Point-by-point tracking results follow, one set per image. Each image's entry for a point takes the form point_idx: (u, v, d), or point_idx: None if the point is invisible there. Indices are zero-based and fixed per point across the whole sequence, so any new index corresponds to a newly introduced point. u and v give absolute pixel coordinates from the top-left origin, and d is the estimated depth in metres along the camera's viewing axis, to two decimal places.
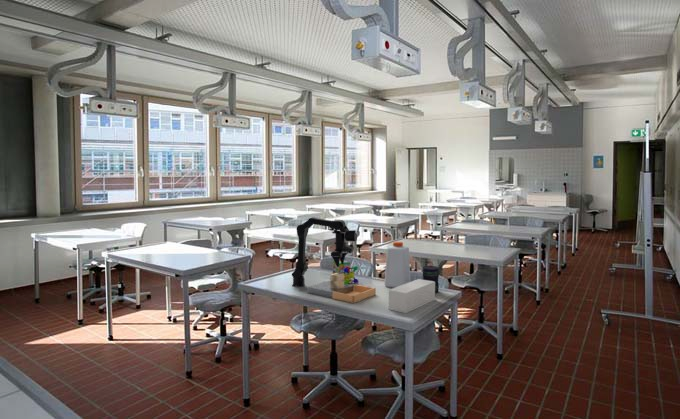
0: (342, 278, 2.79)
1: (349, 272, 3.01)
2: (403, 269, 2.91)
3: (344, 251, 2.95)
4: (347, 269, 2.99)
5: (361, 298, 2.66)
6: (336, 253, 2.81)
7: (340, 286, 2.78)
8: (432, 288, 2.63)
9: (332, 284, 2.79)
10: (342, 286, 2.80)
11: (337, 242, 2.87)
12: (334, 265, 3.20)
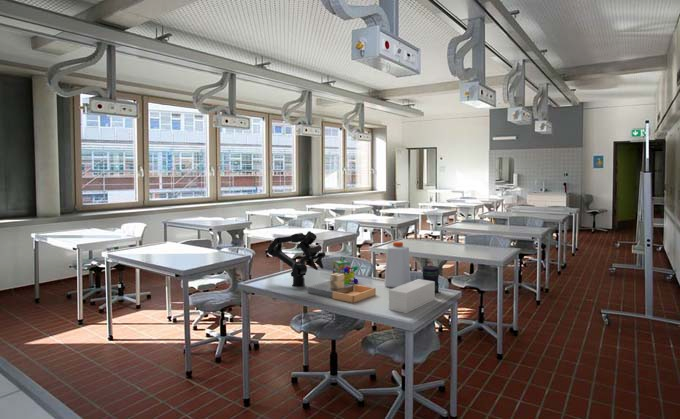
0: (342, 278, 2.79)
1: (349, 272, 3.01)
2: (403, 269, 2.91)
3: (317, 257, 2.94)
4: (347, 269, 2.99)
5: (361, 298, 2.66)
6: (302, 258, 2.84)
7: (340, 286, 2.78)
8: (432, 288, 2.63)
9: (332, 284, 2.79)
10: (342, 286, 2.80)
11: (303, 251, 2.92)
12: (334, 265, 3.20)
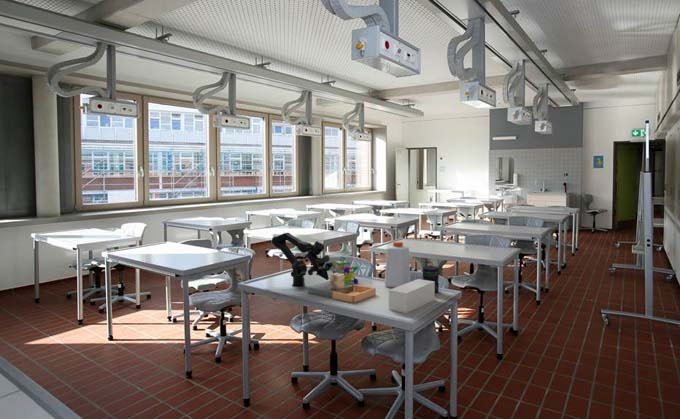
0: (342, 278, 2.79)
1: (349, 272, 3.01)
2: (403, 269, 2.91)
3: (323, 268, 2.88)
4: (347, 269, 2.99)
5: (361, 298, 2.66)
6: (310, 269, 2.80)
7: (340, 286, 2.78)
8: (432, 288, 2.63)
9: (332, 284, 2.79)
10: (342, 286, 2.80)
11: (311, 262, 2.89)
12: (334, 265, 3.20)
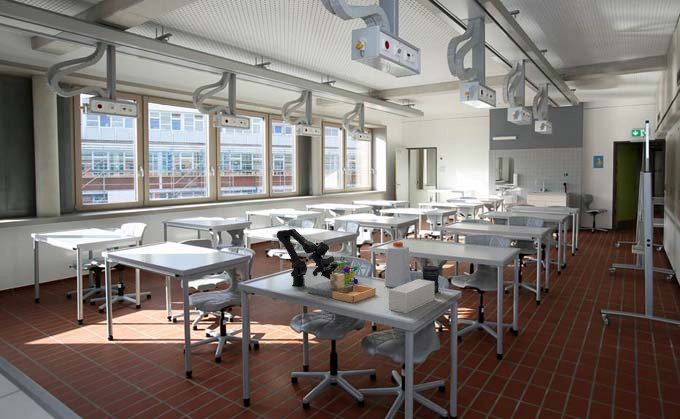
0: (342, 278, 2.79)
1: (349, 272, 3.01)
2: (403, 269, 2.91)
3: (328, 268, 2.86)
4: (347, 269, 2.99)
5: (361, 298, 2.66)
6: (315, 270, 2.78)
7: (340, 286, 2.78)
8: (432, 288, 2.63)
9: (332, 284, 2.79)
10: (342, 286, 2.80)
11: (316, 262, 2.86)
12: None
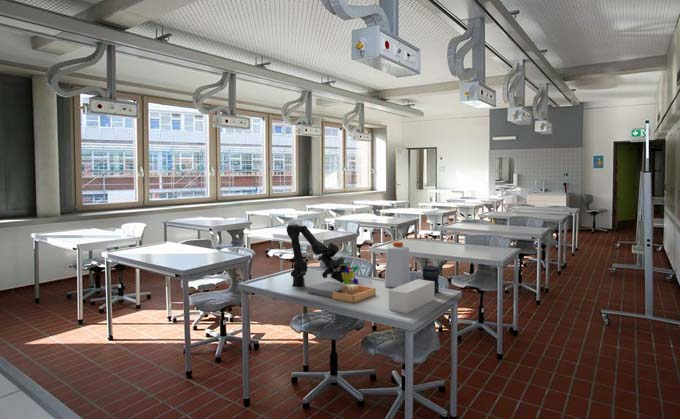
0: None
1: (349, 272, 3.01)
2: (403, 269, 2.91)
3: (337, 270, 2.81)
4: (347, 269, 2.99)
5: (361, 298, 2.66)
6: (325, 272, 2.73)
7: None
8: (432, 288, 2.63)
9: (344, 288, 2.73)
10: None
11: (325, 264, 2.82)
12: None
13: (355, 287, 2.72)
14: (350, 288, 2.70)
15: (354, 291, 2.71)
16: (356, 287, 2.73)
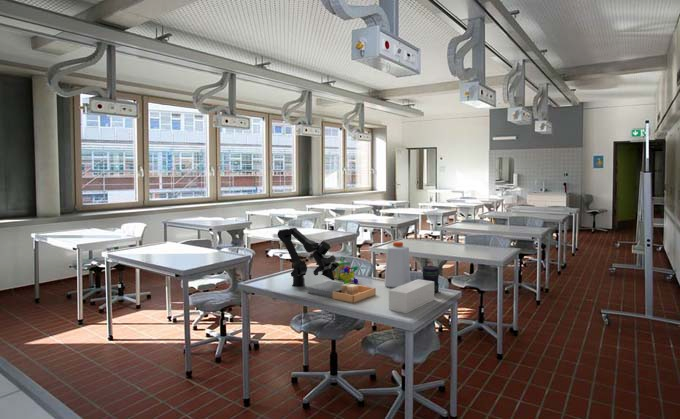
0: None
1: (349, 272, 3.01)
2: (403, 269, 2.91)
3: (329, 268, 2.85)
4: (347, 269, 2.99)
5: (361, 298, 2.66)
6: (316, 269, 2.78)
7: None
8: (431, 288, 2.63)
9: (344, 288, 2.73)
10: None
11: (317, 261, 2.86)
12: None
13: (355, 287, 2.72)
14: (350, 288, 2.70)
15: (354, 291, 2.71)
16: (356, 287, 2.73)
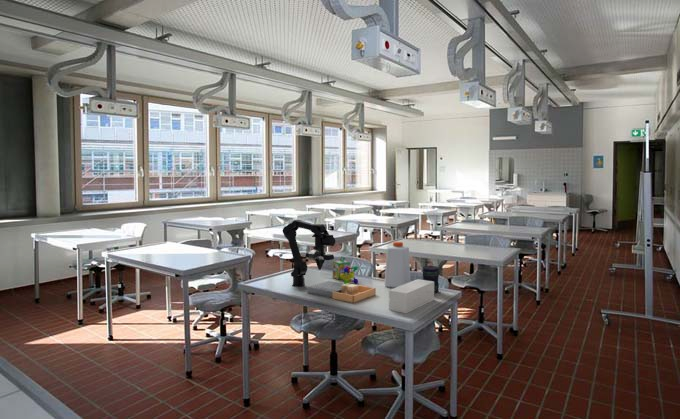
0: None
1: (349, 272, 3.01)
2: (403, 269, 2.91)
3: (320, 257, 2.87)
4: (347, 269, 2.99)
5: (361, 298, 2.66)
6: None
7: None
8: (431, 288, 2.63)
9: (344, 288, 2.73)
10: None
11: None
12: (334, 265, 3.20)
13: (355, 287, 2.72)
14: (350, 288, 2.70)
15: (354, 291, 2.71)
16: (356, 287, 2.73)
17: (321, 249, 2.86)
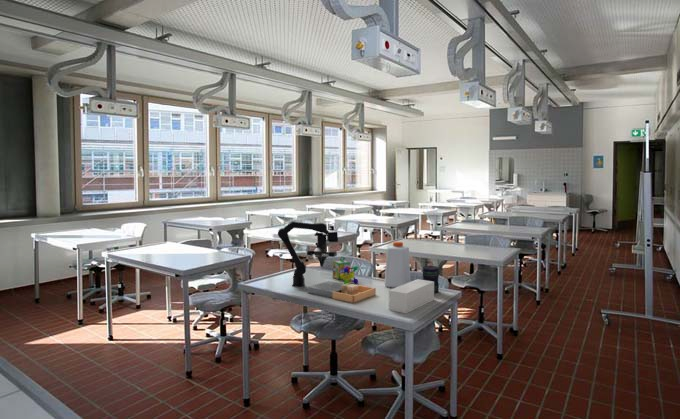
0: None
1: (349, 272, 3.01)
2: (403, 269, 2.91)
3: (323, 254, 2.99)
4: (347, 269, 2.99)
5: (361, 298, 2.66)
6: None
7: None
8: (431, 288, 2.63)
9: (344, 288, 2.73)
10: None
11: None
12: (334, 265, 3.20)
13: (355, 287, 2.72)
14: (350, 288, 2.70)
15: (354, 291, 2.71)
16: (356, 287, 2.73)
17: (324, 246, 2.98)
